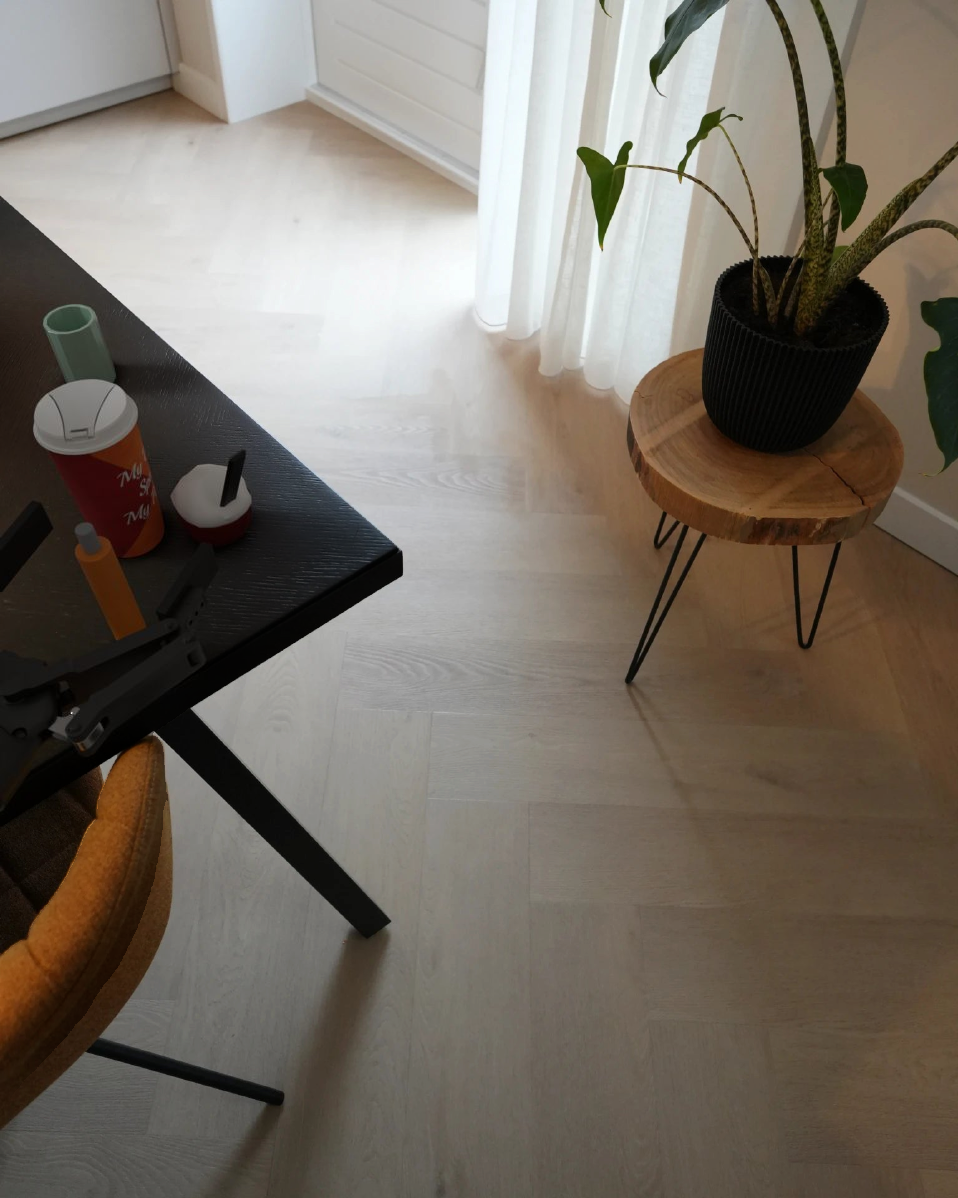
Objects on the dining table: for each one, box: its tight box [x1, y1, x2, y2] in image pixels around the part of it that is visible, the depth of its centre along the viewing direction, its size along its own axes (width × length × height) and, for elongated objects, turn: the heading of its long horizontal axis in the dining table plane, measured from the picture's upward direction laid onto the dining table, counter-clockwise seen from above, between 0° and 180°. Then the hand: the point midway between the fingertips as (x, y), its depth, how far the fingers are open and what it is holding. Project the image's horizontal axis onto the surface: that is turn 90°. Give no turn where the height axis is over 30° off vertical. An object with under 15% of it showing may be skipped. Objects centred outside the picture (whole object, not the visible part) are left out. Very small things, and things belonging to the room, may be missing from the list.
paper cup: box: [32, 379, 165, 559], centre depth 78 cm, size 8×8×14 cm
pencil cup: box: [42, 303, 117, 384], centre depth 94 cm, size 5×5×7 cm
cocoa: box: [169, 449, 253, 548], centre depth 79 cm, size 10×6×12 cm, turn 28°
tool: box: [74, 521, 148, 641], centre depth 70 cm, size 2×2×14 cm
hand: (125, 534), depth 70 cm, fingers open, 13 cm apart
